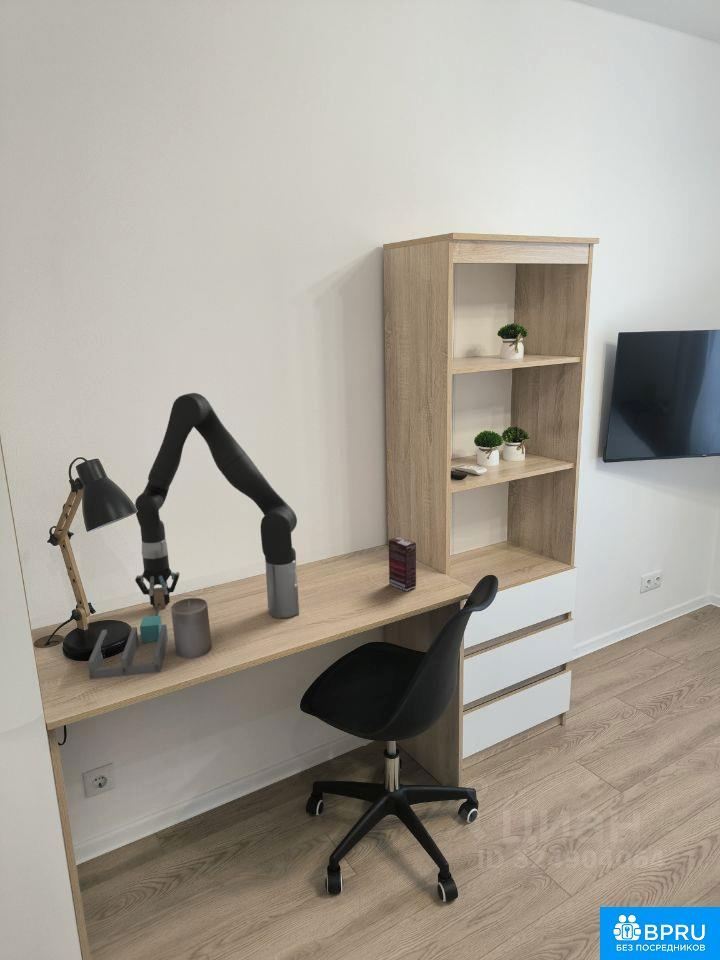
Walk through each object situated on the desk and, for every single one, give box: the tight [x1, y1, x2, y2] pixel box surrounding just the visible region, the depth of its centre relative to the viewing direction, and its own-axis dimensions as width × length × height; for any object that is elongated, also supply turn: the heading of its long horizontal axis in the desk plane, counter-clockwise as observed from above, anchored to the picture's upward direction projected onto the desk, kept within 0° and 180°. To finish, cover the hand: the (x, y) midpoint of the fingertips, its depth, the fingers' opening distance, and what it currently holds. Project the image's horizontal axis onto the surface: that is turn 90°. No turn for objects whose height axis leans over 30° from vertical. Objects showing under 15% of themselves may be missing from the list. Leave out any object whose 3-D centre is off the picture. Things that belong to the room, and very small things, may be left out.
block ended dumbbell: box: [139, 587, 167, 643], centre depth 207 cm, size 5×24×6 cm, turn 9°
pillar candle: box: [170, 597, 213, 659], centre depth 189 cm, size 10×10×15 cm
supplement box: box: [388, 536, 417, 592], centre depth 229 cm, size 9×5×16 cm, turn 40°
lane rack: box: [87, 624, 169, 680], centre depth 187 cm, size 17×18×5 cm
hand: (160, 604), depth 218 cm, fingers closed on block ended dumbbell, 3 cm apart
